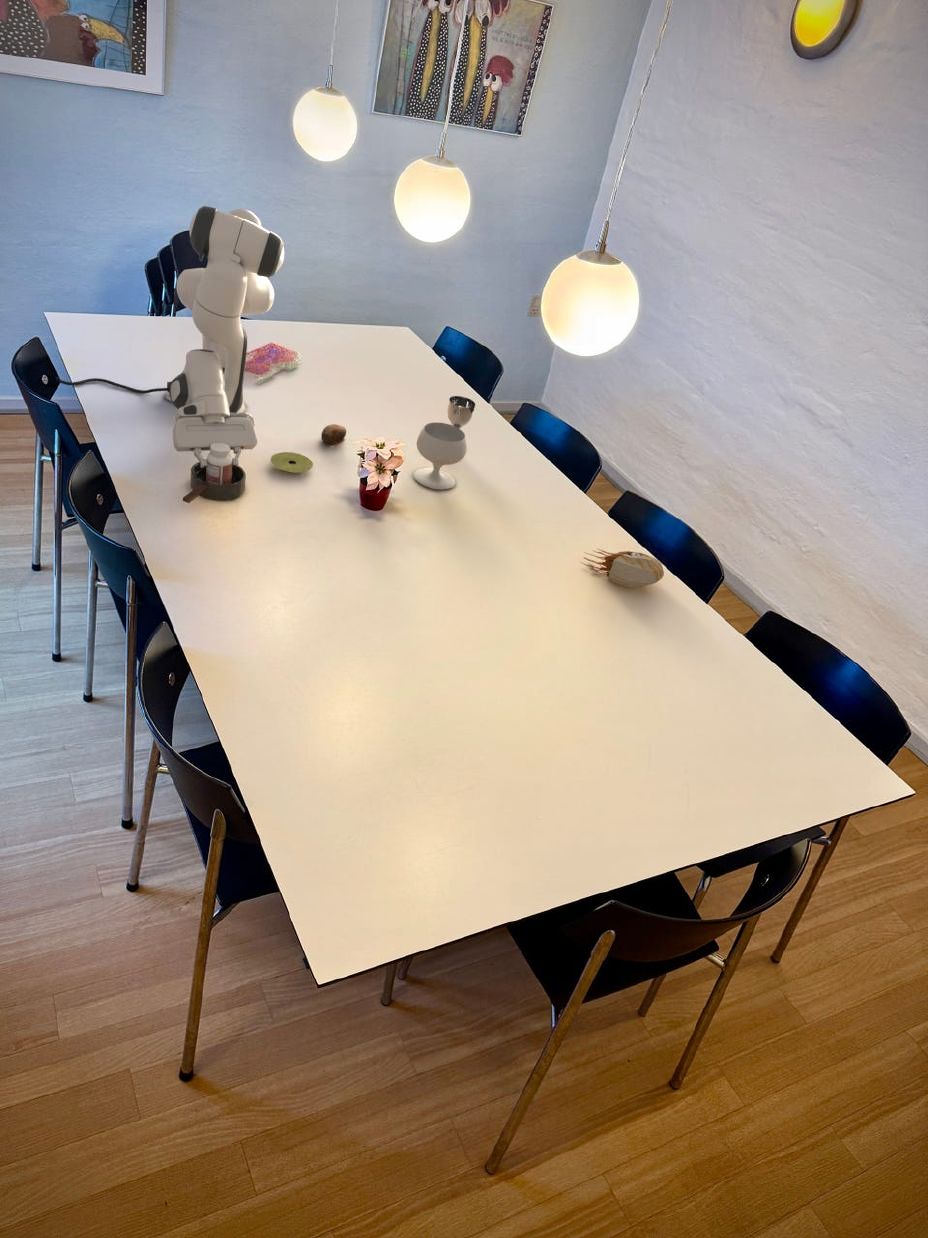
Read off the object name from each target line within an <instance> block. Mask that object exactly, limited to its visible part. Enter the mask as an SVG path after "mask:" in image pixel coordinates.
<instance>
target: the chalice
mask: <svg viewBox="0 0 928 1238" xmlns="http://www.w3.org/2000/svg"><path fill="white" fill-rule="evenodd" d="M467 443H468V442H467V437H466V433H465V432H464V431H463V430H462V429H461V428H460V429H459V428H457V427H455V426H453V425H452V424H451V423H450V424H449V423H447V422H446V423H445V422H436V421H435V422H429V423H427V424H425V425H424V426H423V427H422V429H421V430H420V432H419V434H418V436H417V439H416V449H417V451H418V452H419V454H420V456H422V457H423V458H424V459H425V460H427V461H429V462H430V463H431V465H432V467H422V468H419V469H416V470H415V471H414V473H413V479H414V480H415V481H416V482H417V483H419V484H420V485H422V486H424V487H426V488H430V489H433V490H449V489H452V488H454V486H455V485H456V480H455V478H454V477H453V475H452V474H450V473H449V472H447V471H445V470H442V467H444V466H448V465H454V464H457V463H459V462H461V461H462V460H463V459H464V457H465V456H466V454H467V448H468V444H467Z"/></svg>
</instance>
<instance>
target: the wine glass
mask: <svg viewBox="0 0 928 1238" xmlns="http://www.w3.org/2000/svg"><path fill="white" fill-rule="evenodd" d="M475 408H476V402H475V401H473V400H472V399H471V398H468V397H465V396H460V395H453V396H450V397H449V398H448V403H447V418H448V421H449V422H450V425H453V426H455V427H457V428H459V429H460V430H461V429H462V428H463V427H464V426H466V425H468V424H469V423H470V421H471V419H472V417H473V414H474V413H475Z"/></svg>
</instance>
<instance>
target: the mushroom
mask: <svg viewBox="0 0 928 1238" xmlns="http://www.w3.org/2000/svg"><path fill="white" fill-rule="evenodd" d="M346 435H347V429H346V427H345V426H344V425H341V424H336V423H331V424H328V425H326V426H325V427H324V428H323V429H322V430H321V439H320V440H321V441H322V443H323V444H324V445H325V446H327V447H334V446H337V445H340V444H342V443H344V442H345V441H346Z"/></svg>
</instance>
